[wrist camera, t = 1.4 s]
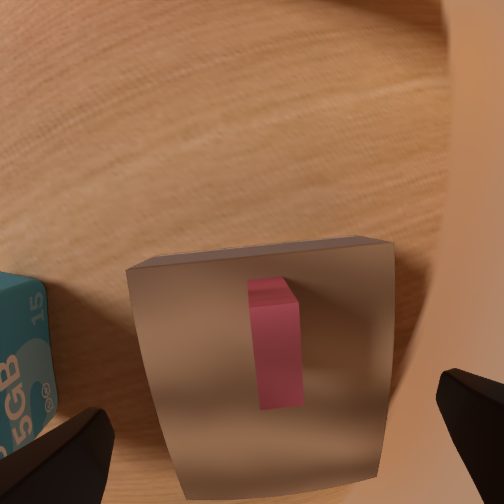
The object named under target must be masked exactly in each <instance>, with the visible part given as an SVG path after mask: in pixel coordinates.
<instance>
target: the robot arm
mask: <svg viewBox="0 0 504 504" xmlns="http://www.w3.org/2000/svg"><path fill="white" fill-rule="evenodd" d="M436 401H437V405H438V407H439V410H440V412H441V414H442V417H443V419H444V421H445V424H446V426H447V429H448V431H449V434H450V436H451V438H452V441H453V443H454V445H455V447H456V449H457V451H458V453H459V454H460V456H461V458H462V460H463V462H464V464H465V466H466V468H467V470H468V472H469V474H470V475H471V478H472V479H473V481H474V484H475V485H476V488H477V489H478V492H479V494H480V496H481V498H482V500H483V502H484V504H504V384H502V383H499V382H496V381H493V380H490V379H487V378H484V377H481V376H478V375H475V374H472V373H469V372H465V371H463V370H460V369H457V368H453V369H450V370H447V371H444V372H443V373H442V374H441V376H440V380H439V385H438V389H437V393H436ZM114 439H115V433H114V429H113V427H112V425H111V423H110V420H109V418H108V416H107V414H106V412H105V410H104V409H102V408H94V407H90V408H88V409H86V410H84V411H83V412H81V413H79V414H78V415H76V416H74V417H73V418H71V419H69V420H68V421H66V422H64V423H63V424H61V425H59V426H58V427H56V428H54V429H53V430H51V431H49V432H48V433H46V434H44V435H42V436H41V437H39V438H37V439H36V440H34V441H32V442H30V443H29V444H27V445H25V446H23V447H22V448H20V449H18V450H16V451H15V452H13V453H11V454H9V455H7V456H6V457H4V458H2V459H0V504H101V500H102V497H103V493H104V490H105V486H106V483H107V478H108V472H109V467H110V461H111V455H112V450H113V445H114Z"/></svg>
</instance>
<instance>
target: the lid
mask: <svg viewBox="0 0 504 504" xmlns="http://www.w3.org/2000/svg"><path fill="white" fill-rule="evenodd" d="M126 276H127V282H128V288H129V294H130V300H131V306H132V311H133V316H134V322H135V327H136V332H137V336H138V341H139V346H140V350H141V355H142V359H143V363H144V367H145V371H146V375H147V379H148V383H149V387H150V391H151V395H152V398H153V402H154V405H155V409H156V412H157V416H158V419H159V423H160V426H161V429H162V432H163V436H164V439H165V442H166V445H167V448H168V451H169V454H170V457H171V460H172V463H173V465H174V468H175V471H176V474H177V476H178V479H179V482H180V484H181V487H182V490H183V492H184V495H185V497H186V500H235V499H252V498H265V497H275V496H283V495H291V494H298V493H305V492H311V491H317V490H322V489H327V488H332V487H337V486H342V485H346V484H351V483H355V482H359V481H362V480H366V479H370V478H374V477H377V473H378V468H379V462H380V457H381V452H382V446H383V440H384V434H385V427H386V420H387V413H388V404H389V396H390V386H391V376H392V363H393V348H394V327H395V255H394V243H393V242H381V243H371V244H362V245H352V246H343V247H333V248H324V249H314V250H304V251H295V252H285V253H275V254H266V255H256V256H246V257H236V258H226V259H216V260H206V261H197V262H187V263H177V264H167V265H156V266H146V267H136V268H129V269H127V270H126Z"/></svg>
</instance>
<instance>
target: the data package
mask: <svg viewBox="0 0 504 504" xmlns="http://www.w3.org/2000/svg"><path fill="white" fill-rule="evenodd" d="M57 405H58V395H57V389H56V384H55V377H54V371H53V364H52V356H51V348H50V338H49V328H48V314H47V296H46V290H45V287H44V285H43V284H42V282H41V281H39V280H38V279H34V278H29V277H24V276H19V275H14V274H10V273H5V272H1V271H0V459H2V458H4V457H6V456H7V455H9V454H11V453H13V452H15V451H16V450H18V449H20V448H22V447H23V446H25V445H27V444H29V443H30V442H32V441H33V440H34V439H35V438H36V437H37V435H38V434H39V433H40V432H41V431H42V430H43V428H44V427H45V426H46V425H47V424H48V423H49V421H50V420H51V419H52V418H53V417H54V415H55V413H56V410H57Z"/></svg>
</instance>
